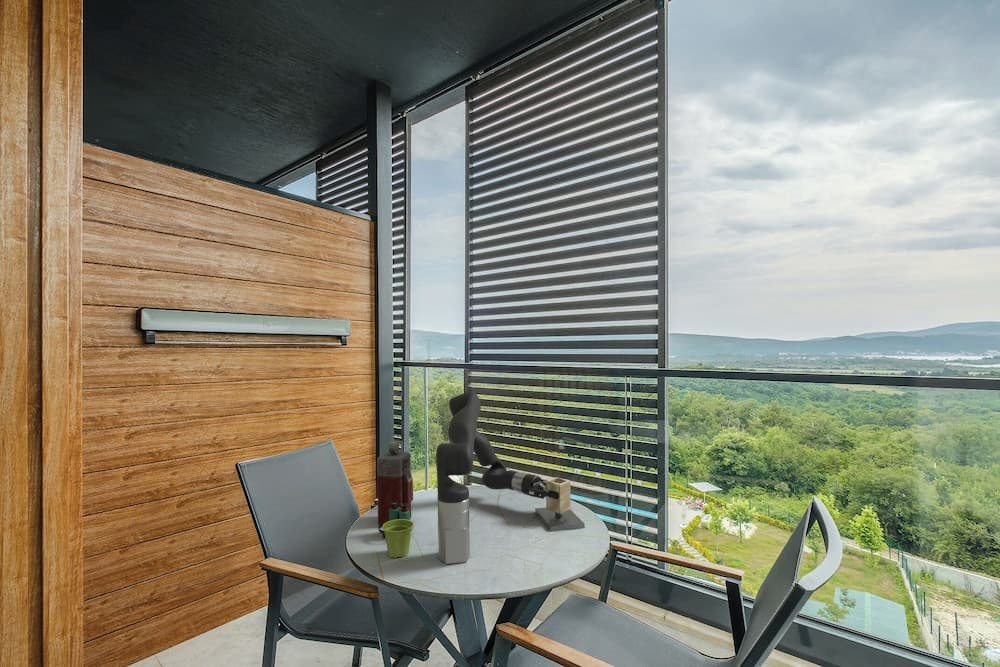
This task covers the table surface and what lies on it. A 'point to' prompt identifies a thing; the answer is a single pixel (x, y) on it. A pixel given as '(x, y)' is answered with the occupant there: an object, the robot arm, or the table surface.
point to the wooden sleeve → (564, 494)
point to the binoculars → (396, 514)
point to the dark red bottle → (393, 481)
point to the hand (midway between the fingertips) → (564, 493)
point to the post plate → (559, 520)
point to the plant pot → (398, 536)
